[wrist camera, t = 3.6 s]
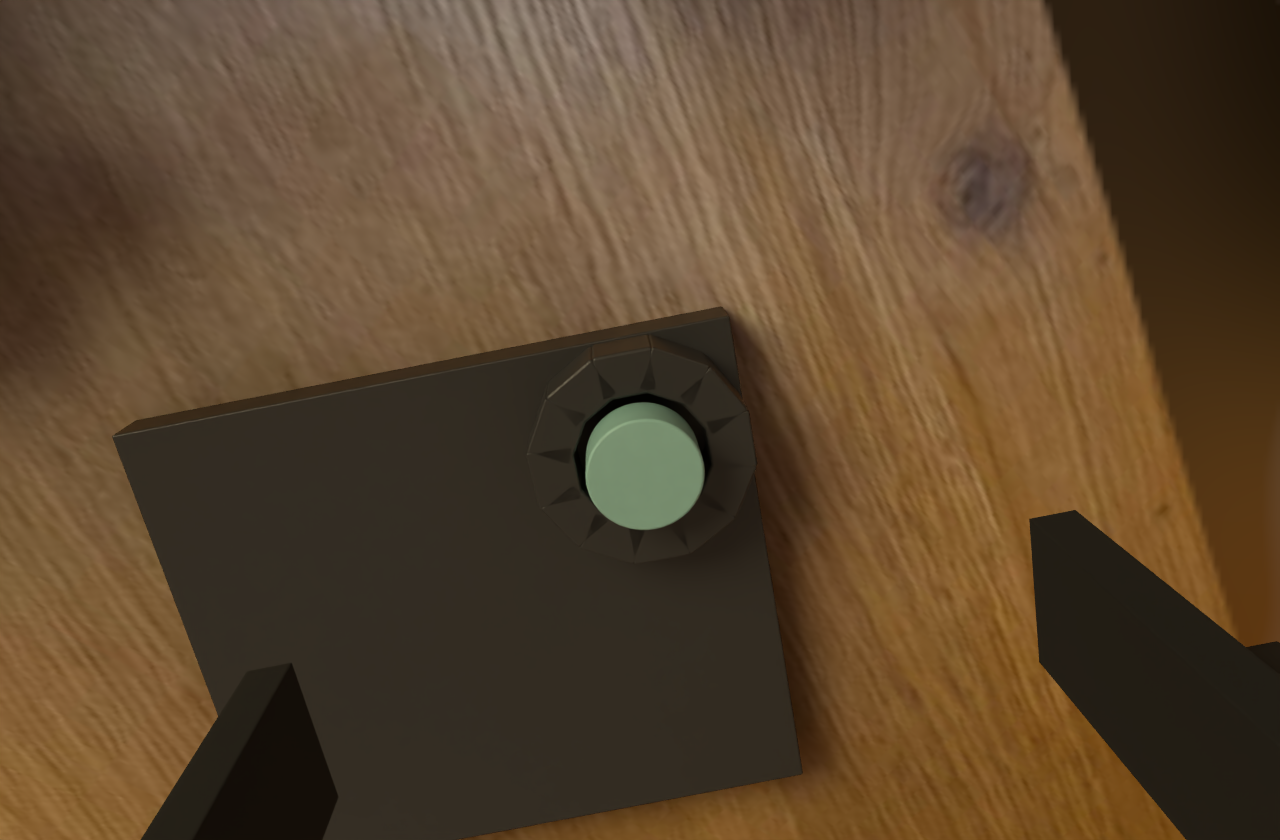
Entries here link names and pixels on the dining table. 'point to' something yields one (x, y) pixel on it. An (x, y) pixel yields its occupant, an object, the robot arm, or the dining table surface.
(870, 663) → the dining table surface
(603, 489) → the power button
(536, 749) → the scale
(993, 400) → the dining table surface
